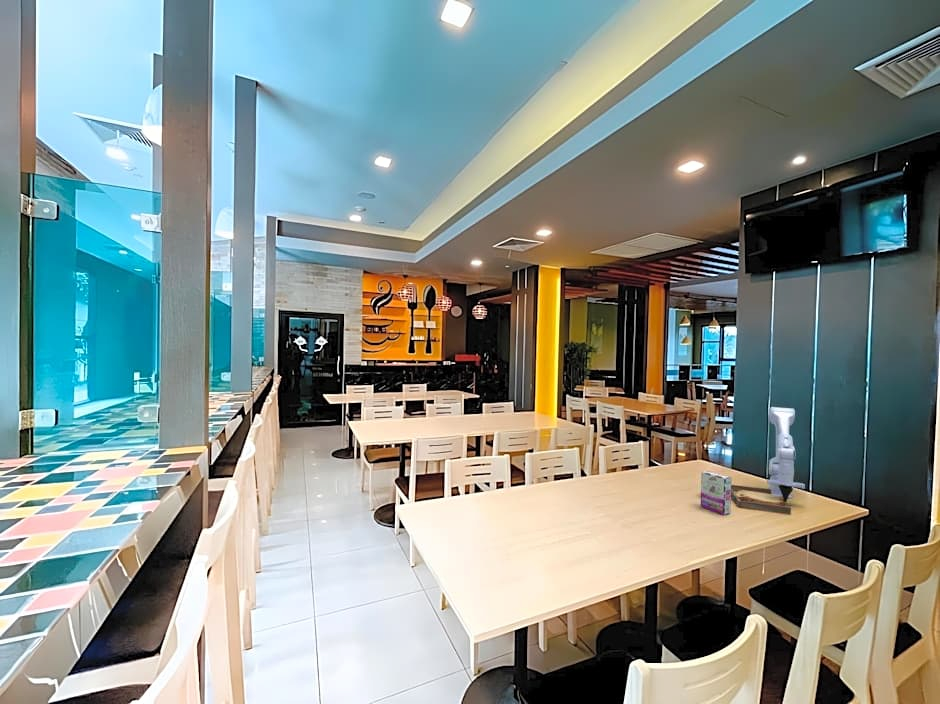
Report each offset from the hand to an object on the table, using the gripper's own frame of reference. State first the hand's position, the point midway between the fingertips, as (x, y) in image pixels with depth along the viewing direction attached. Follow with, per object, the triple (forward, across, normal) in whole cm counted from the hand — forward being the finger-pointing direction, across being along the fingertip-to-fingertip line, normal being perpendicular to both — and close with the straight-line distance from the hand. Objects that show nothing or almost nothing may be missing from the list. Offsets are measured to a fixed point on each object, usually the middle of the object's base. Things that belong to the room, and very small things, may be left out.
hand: (784, 501), depth 196 cm
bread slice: (+2, -10, 0) cm, 11 cm away
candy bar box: (+2, -33, -22) cm, 40 cm away
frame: (+1, -12, -1) cm, 12 cm away
